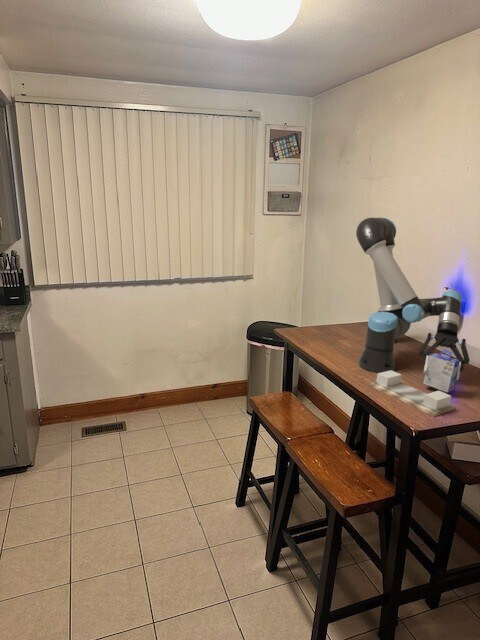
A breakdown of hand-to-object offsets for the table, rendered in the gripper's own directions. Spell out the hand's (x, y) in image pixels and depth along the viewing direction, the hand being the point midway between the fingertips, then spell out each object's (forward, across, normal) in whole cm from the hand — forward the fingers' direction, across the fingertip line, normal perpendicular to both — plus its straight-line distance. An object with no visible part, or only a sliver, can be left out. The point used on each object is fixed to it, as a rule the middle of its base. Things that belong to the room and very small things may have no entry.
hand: (440, 375), depth 166 cm
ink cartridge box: (+3, 0, -5) cm, 6 cm away
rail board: (+12, +9, +2) cm, 15 cm away
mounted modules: (+11, +9, +3) cm, 15 cm away
